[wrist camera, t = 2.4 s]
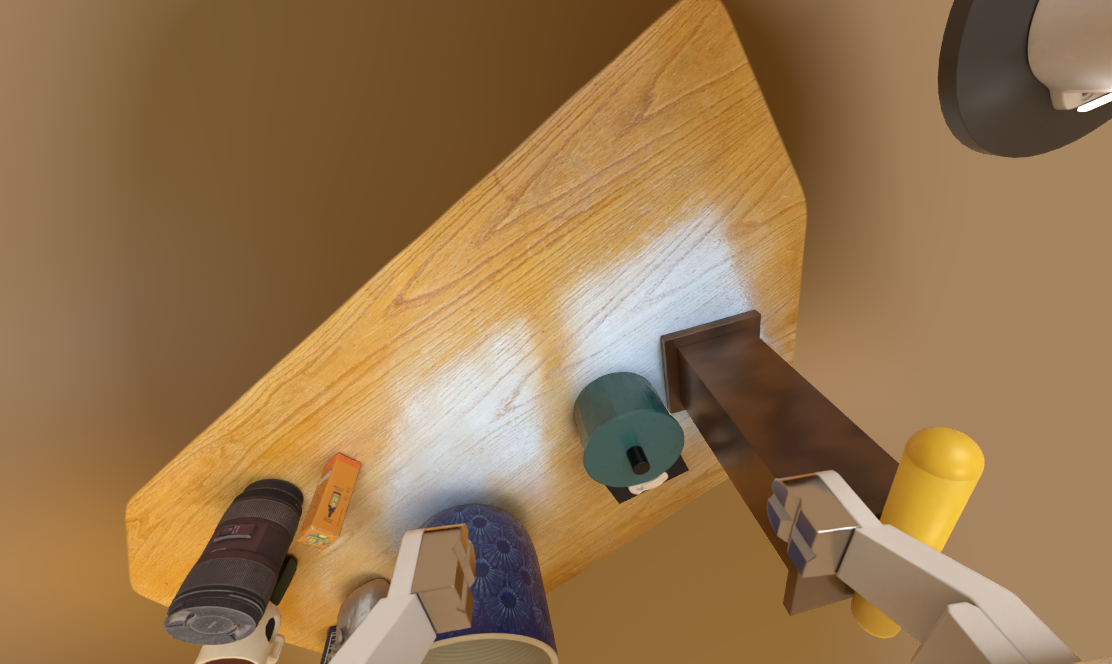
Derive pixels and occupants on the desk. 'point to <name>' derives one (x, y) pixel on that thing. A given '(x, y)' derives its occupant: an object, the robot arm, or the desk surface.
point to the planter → (498, 595)
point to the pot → (613, 400)
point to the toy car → (632, 491)
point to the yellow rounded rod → (925, 501)
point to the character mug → (255, 632)
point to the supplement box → (330, 503)
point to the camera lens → (237, 567)
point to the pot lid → (633, 448)
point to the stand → (770, 430)
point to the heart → (357, 610)
